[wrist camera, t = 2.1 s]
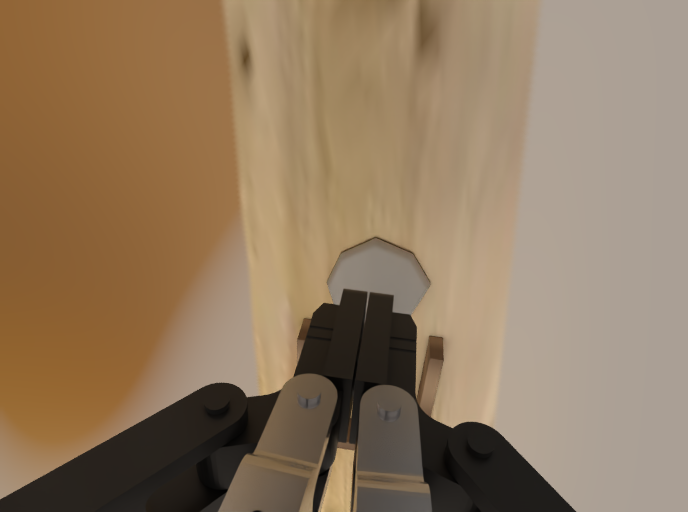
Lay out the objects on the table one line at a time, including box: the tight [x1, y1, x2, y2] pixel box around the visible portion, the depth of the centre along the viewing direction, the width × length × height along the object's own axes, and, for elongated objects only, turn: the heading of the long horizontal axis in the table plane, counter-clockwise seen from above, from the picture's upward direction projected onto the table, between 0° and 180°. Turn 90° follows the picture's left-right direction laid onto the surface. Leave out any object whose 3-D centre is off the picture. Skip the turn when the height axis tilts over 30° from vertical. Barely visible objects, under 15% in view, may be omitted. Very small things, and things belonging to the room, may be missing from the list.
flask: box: [327, 238, 431, 318], centre depth 32 cm, size 7×7×10 cm
